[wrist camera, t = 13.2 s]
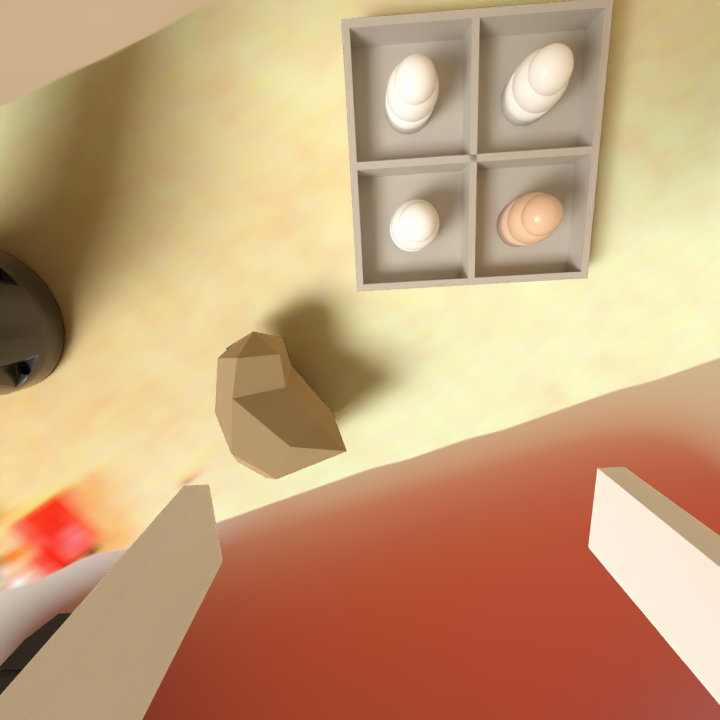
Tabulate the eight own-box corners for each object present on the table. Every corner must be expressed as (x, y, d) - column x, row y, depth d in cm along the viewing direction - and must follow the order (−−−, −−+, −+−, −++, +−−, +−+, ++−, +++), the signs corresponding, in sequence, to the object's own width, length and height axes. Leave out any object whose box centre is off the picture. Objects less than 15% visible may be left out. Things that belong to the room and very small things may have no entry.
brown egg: (495, 248, 33) (522, 241, 27) (497, 201, 32) (525, 184, 26) (539, 245, 33) (575, 238, 27) (542, 198, 32) (580, 180, 26)
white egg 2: (389, 254, 33) (394, 248, 27) (388, 207, 32) (392, 192, 26) (433, 251, 33) (446, 245, 27) (432, 204, 32) (447, 188, 26)
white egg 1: (385, 135, 31) (389, 103, 25) (384, 81, 30) (388, 35, 24) (431, 133, 30) (446, 100, 25) (432, 79, 30) (448, 32, 24)
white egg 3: (499, 128, 30) (529, 94, 25) (501, 73, 29) (532, 25, 24) (547, 124, 30) (587, 89, 25) (550, 69, 29) (593, 20, 24)
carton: (357, 290, 34) (357, 291, 31) (343, 45, 30) (341, 19, 27) (568, 278, 34) (587, 278, 31) (588, 25, 29) (613, -3, 26)
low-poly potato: (334, 459, 39) (388, 407, 32) (265, 531, 31) (317, 483, 24) (249, 367, 41) (282, 299, 34) (161, 411, 33) (181, 333, 25)
